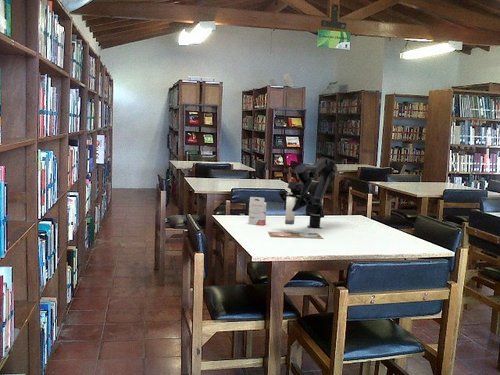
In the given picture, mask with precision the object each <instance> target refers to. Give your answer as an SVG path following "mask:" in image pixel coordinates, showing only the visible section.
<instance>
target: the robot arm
mask: <svg viewBox="0 0 500 375" xmlns="http://www.w3.org/2000/svg"><path fill="white" fill-rule="evenodd" d="M294 171H295V172H294V173H295V174H296V177H297V178H296V179H297V180H299V181H298V182H297V181H291V180H290V181H289V182H288V185H287V188H288V189H289V190H290V192H289V191H288V190H285V189H284V190H279V192H278V195H279V198H280V199H281V201H283V202H284V208H283V210H284V211H285V212H286V199H287V197H296V202H295V206H294V207H293V210H292V211H293V212H294V211H295V212H296V211H297V210H299V209H301V208H303V207H305V216H306V217H309V222H308V224H309V225H307V227H308V228H309V229H318V230H319V229H320V230H321V229H322V228H323V227H321V219H322V218H325V215H326V214H325V213H326V212H325V210H324V204H323V200H324V197H325V193H326V191H327V188H328V186H329V182H330V180H331V179H333V178H334V177H335V175H336V173H337V172H338V166H337V165H336V163H335V162H334V161H332V160H331V159H330V158H329V157H319V159H318V160H317V161H315V162H314V163H313V164H311V165H306V163H305V162H304V163H302V162H301V163H300V164H299V165H297V166H295V168H294ZM319 172H320V179H319V182H318V185H317V187H316V190H315V192H314V195H313V194H312V193H309V192H308V191H309V189H310V187H313V186H314V184H313V179H314V180H315V179H317V178H318V176H319Z"/></svg>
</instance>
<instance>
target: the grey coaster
mask: <svg viewBox="0 0 500 375" xmlns="http://www.w3.org/2000/svg"><path fill="white" fill-rule="evenodd" d="M299 233H300V234H299V236H302V237H310V238H314V237H318V235H317V234H313V233H314V232H299ZM310 238H309V239H310Z"/></svg>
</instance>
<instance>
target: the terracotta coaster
mask: <svg viewBox="0 0 500 375" xmlns="http://www.w3.org/2000/svg"><path fill="white" fill-rule="evenodd" d="M273 232H274V233H272V235H274V236H280V237H288V236H291V234H290V233H285V232H286V231H285V232H284V231H283V232H282V231H273Z"/></svg>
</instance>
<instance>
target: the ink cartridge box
mask: <svg viewBox="0 0 500 375" xmlns="http://www.w3.org/2000/svg"><path fill="white" fill-rule="evenodd" d="M248 206H249V207H248V221H247V222H248V225H254V226H255V225H256V226H264V225H266V224H267V222H266V220H267V202H265V197H257V196H250V197H249V205H248Z"/></svg>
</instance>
